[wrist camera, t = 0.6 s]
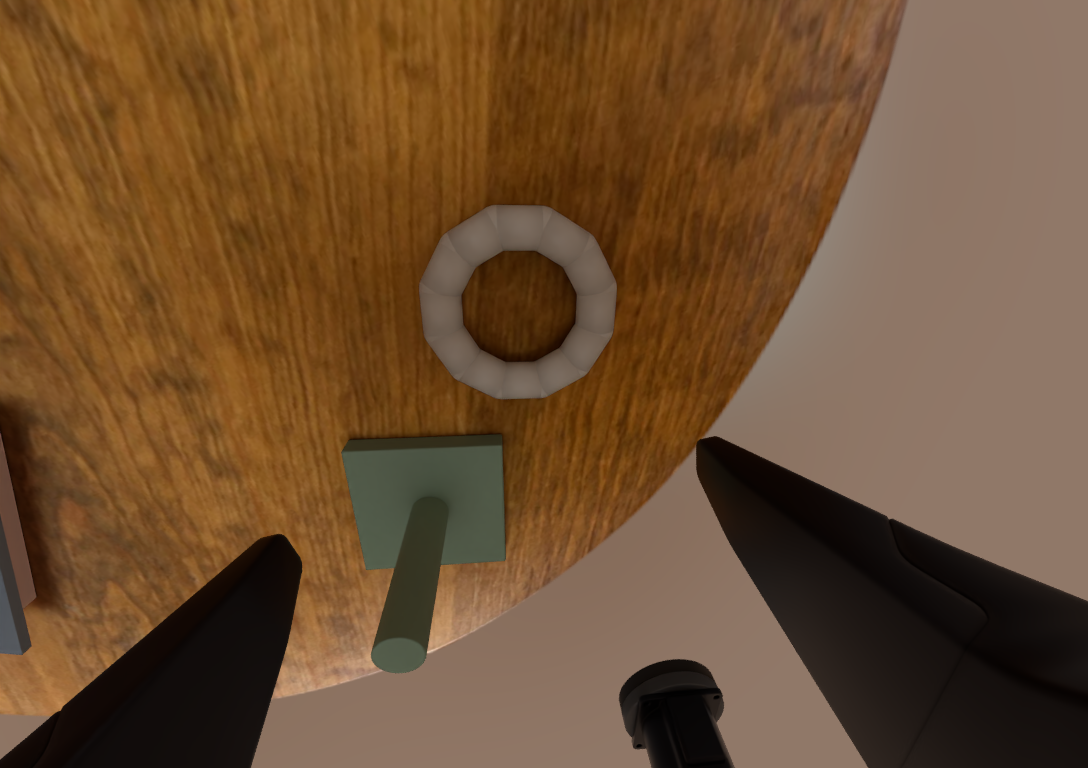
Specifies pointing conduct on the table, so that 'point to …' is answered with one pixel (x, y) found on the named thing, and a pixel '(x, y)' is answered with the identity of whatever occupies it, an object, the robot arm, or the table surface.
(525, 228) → the segmented ring
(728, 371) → the table surface
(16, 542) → the desk lamp
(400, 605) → the post stand
